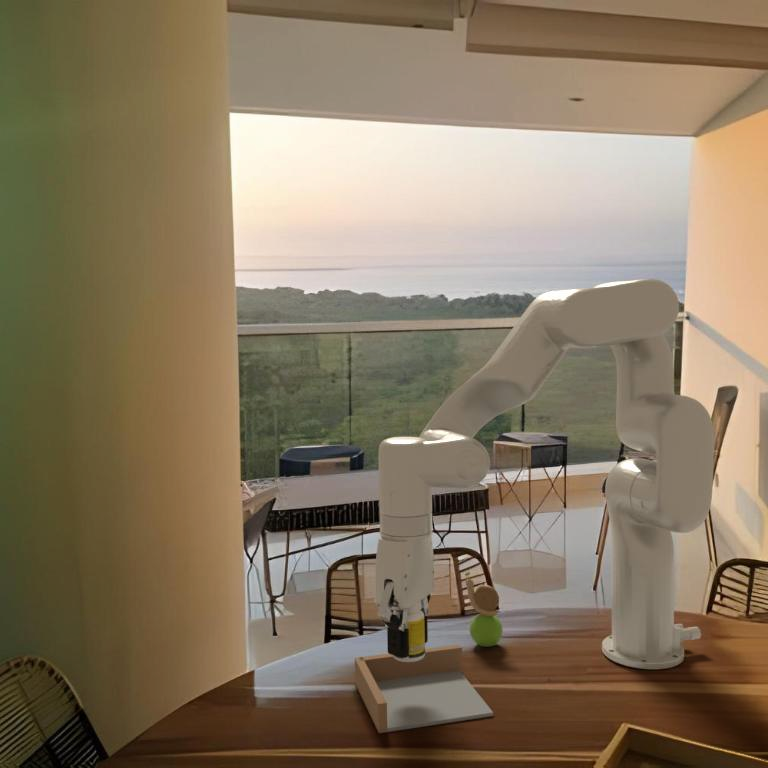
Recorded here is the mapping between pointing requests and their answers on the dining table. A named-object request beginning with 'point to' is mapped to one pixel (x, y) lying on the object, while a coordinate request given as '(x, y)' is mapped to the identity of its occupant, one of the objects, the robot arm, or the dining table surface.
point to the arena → (417, 690)
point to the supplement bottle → (414, 633)
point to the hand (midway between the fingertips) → (408, 646)
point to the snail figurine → (484, 614)
